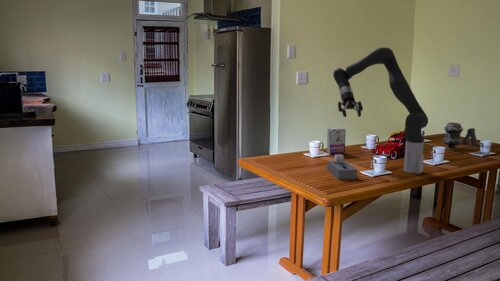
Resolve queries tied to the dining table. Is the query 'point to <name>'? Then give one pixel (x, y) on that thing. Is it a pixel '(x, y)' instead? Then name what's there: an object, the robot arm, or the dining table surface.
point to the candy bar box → (336, 141)
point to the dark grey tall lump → (452, 135)
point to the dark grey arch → (473, 138)
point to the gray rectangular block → (339, 159)
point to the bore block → (342, 170)
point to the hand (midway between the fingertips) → (352, 116)
